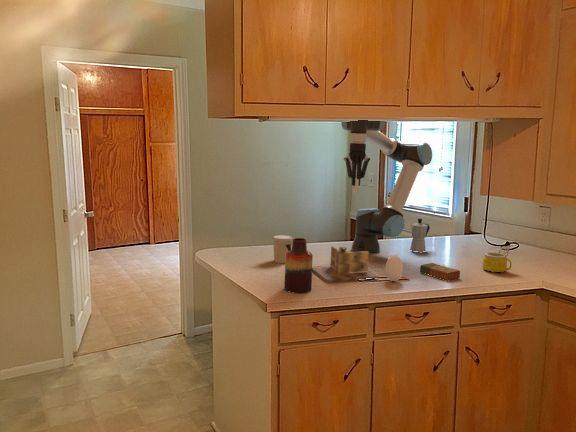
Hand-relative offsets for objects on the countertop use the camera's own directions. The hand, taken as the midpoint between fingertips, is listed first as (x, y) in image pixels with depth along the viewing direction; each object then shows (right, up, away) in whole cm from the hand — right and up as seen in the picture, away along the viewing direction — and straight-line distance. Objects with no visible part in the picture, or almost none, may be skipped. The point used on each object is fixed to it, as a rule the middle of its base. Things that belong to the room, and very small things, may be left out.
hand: (355, 192), depth 244 cm
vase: (-28, -41, -40) cm, 64 cm away
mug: (+66, -38, -3) cm, 76 cm away
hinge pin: (-9, -36, -20) cm, 42 cm away
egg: (+13, -40, -26) cm, 49 cm away
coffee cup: (-35, -33, +4) cm, 49 cm away
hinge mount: (-7, -37, -17) cm, 42 cm away
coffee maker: (+40, -31, +36) cm, 62 cm away
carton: (+36, -39, -14) cm, 55 cm away
